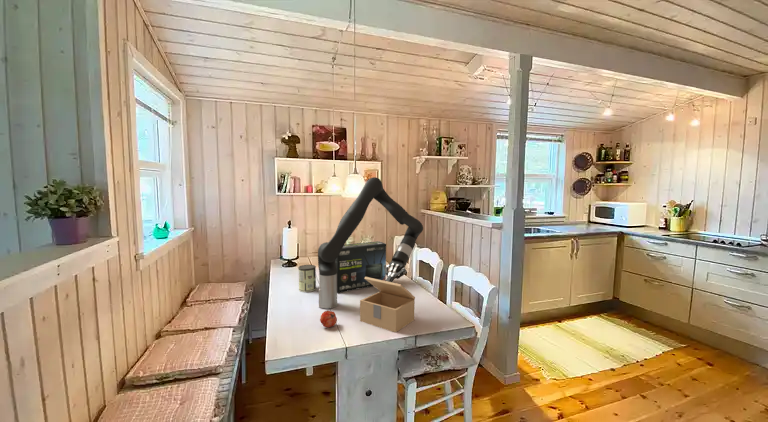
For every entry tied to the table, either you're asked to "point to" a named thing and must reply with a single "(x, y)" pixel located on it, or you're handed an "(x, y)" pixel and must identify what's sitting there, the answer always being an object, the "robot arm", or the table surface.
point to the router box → (360, 265)
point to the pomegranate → (328, 319)
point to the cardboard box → (387, 311)
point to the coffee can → (307, 278)
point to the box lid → (390, 287)
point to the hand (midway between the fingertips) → (387, 284)
